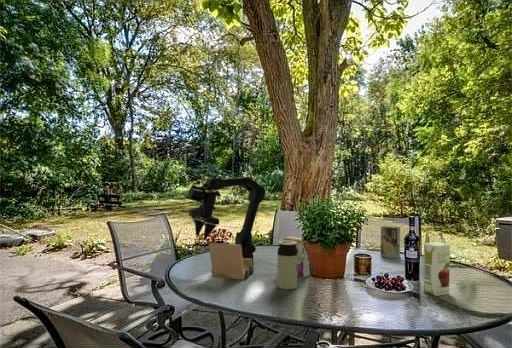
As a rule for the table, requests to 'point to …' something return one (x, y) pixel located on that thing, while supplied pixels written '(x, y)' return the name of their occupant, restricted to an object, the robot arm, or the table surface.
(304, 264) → the spray bottle
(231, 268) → the tailgate
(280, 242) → the travel mug
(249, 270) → the cart bed
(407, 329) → the table surface
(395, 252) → the coffee box
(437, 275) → the juice carton
